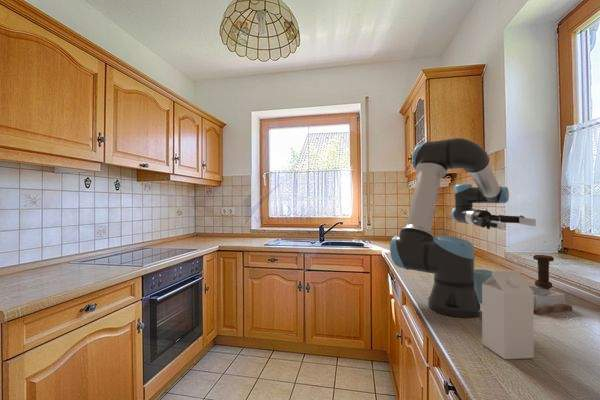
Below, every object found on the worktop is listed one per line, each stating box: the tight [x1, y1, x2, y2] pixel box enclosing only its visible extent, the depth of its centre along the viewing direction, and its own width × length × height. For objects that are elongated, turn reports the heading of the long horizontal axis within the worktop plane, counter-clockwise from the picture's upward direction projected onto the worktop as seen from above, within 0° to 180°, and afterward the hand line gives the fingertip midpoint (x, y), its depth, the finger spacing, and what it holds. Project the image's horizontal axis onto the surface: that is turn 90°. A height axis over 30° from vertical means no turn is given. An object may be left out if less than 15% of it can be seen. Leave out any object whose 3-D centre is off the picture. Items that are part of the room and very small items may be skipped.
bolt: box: [533, 254, 554, 290], centre depth 109 cm, size 6×5×15 cm
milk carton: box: [481, 269, 535, 360], centre depth 69 cm, size 7×7×19 cm
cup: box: [474, 268, 493, 304], centre depth 104 cm, size 8×8×10 cm
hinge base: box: [527, 283, 573, 315], centre depth 100 cm, size 15×14×5 cm
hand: (520, 224), depth 116 cm, fingers open, 13 cm apart
